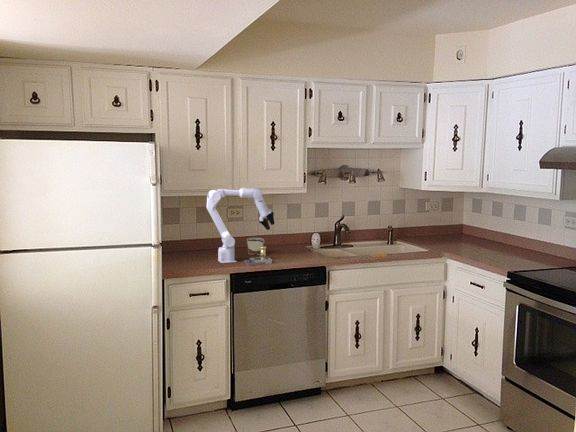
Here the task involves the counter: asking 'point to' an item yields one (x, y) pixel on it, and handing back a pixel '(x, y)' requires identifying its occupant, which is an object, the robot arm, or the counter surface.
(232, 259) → the robot arm
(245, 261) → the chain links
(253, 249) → the food container
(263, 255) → the brass pin
